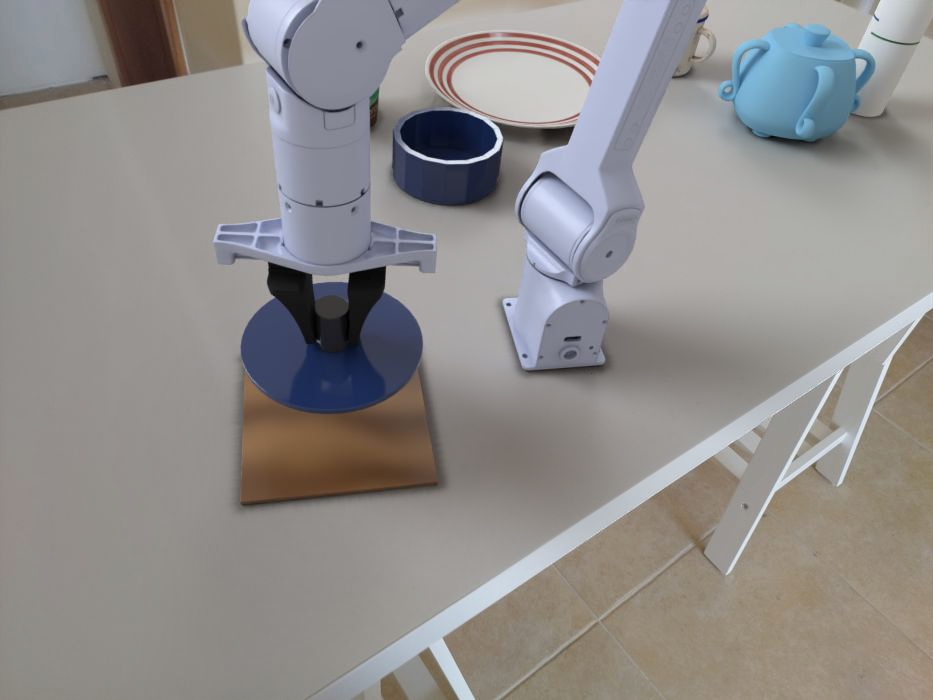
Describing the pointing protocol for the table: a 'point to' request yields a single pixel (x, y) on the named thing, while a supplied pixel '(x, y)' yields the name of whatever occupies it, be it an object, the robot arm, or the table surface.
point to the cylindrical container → (890, 49)
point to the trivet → (334, 448)
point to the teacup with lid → (692, 45)
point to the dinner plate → (514, 77)
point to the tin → (446, 155)
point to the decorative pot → (796, 82)
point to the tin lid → (332, 353)
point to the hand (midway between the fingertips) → (333, 335)
